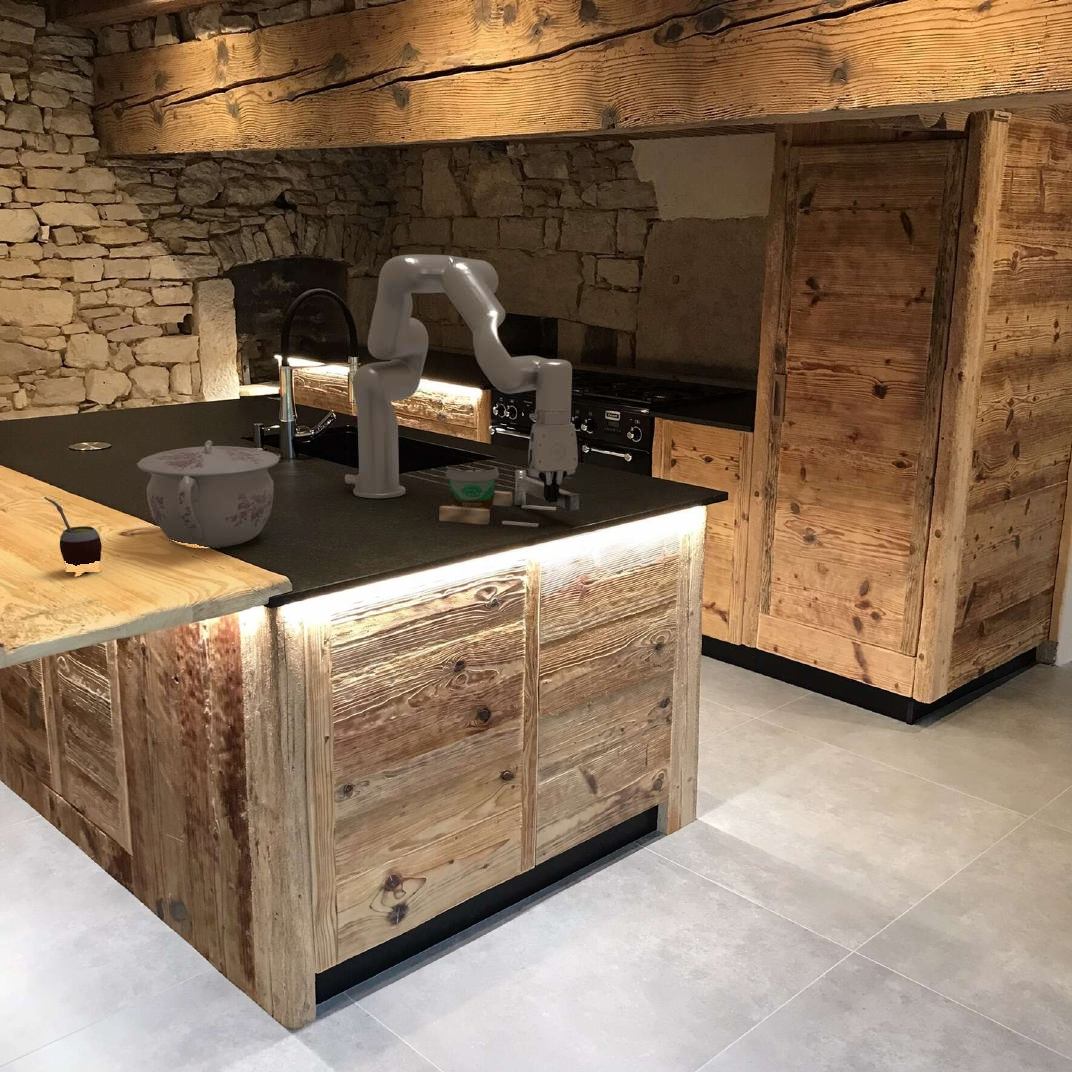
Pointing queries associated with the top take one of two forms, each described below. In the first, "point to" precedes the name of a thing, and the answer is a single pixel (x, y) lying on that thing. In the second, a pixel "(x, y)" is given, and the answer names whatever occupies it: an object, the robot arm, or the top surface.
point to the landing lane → (529, 523)
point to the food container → (472, 488)
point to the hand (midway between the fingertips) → (551, 501)
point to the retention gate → (541, 492)
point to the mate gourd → (79, 542)
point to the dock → (474, 510)
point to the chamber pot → (210, 493)
